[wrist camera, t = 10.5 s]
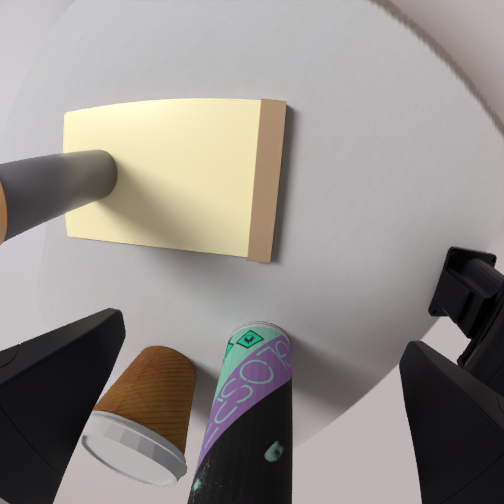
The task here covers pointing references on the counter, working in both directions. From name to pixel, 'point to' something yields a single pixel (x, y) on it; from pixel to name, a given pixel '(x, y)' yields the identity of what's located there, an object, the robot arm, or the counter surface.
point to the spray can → (249, 423)
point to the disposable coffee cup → (145, 419)
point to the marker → (51, 187)
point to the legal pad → (184, 174)
